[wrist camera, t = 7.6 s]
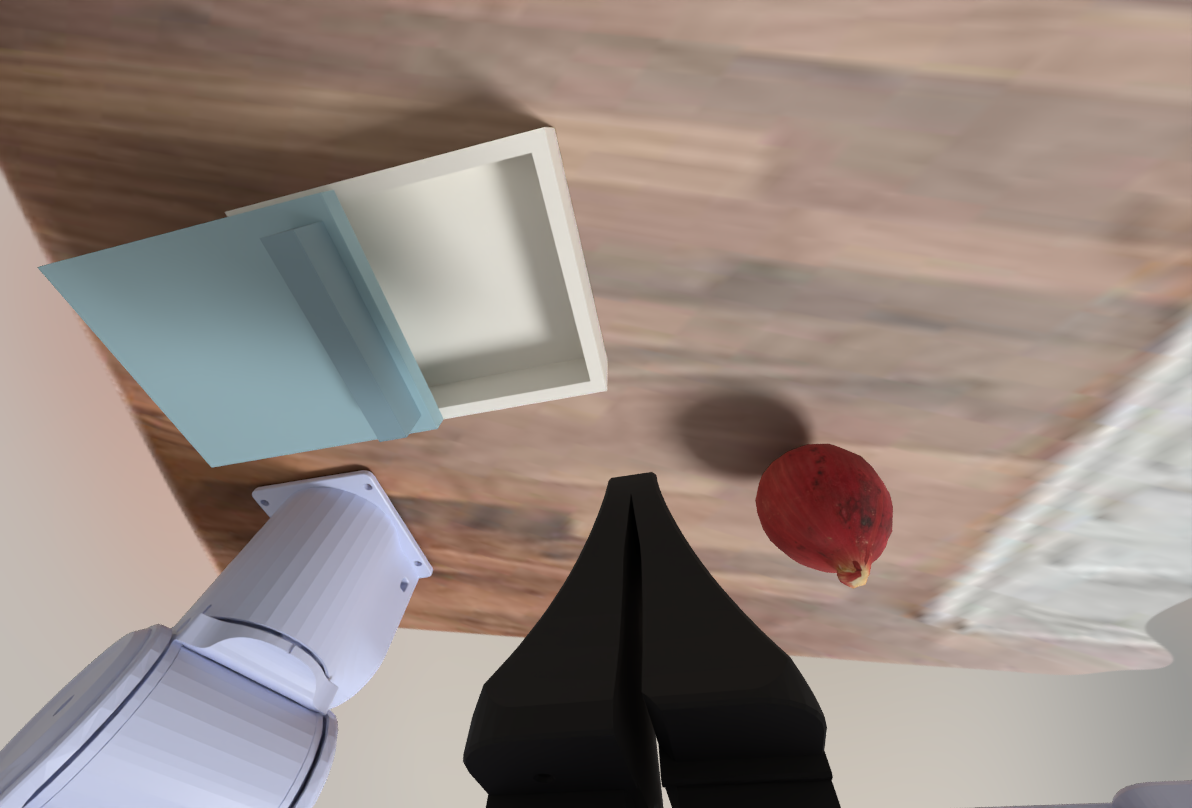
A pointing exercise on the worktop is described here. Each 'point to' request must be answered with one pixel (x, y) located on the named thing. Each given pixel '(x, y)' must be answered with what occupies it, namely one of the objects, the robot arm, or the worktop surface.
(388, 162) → the worktop surface
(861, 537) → the onion
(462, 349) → the box
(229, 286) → the lid
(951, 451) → the worktop surface
